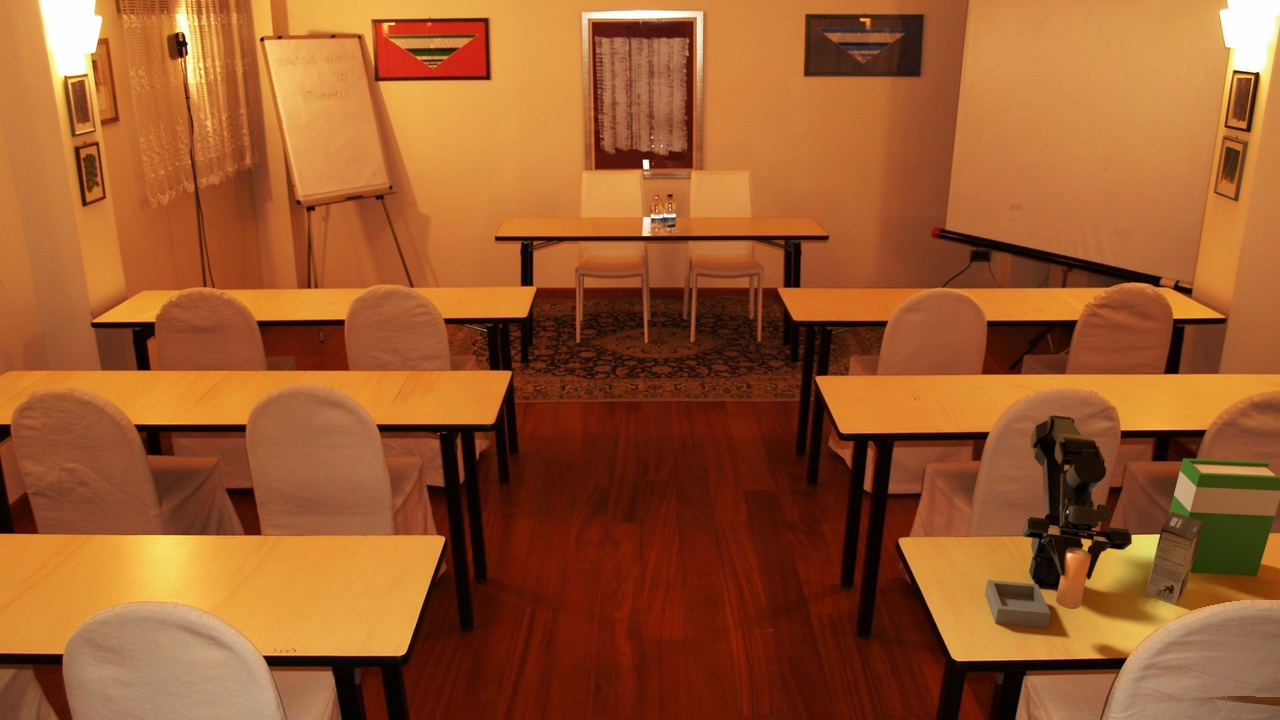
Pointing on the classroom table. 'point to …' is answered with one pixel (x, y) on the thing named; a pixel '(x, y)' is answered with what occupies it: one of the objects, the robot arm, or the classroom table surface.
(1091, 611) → the classroom table surface
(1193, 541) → the coffee box
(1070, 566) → the orange cylinder
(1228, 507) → the hardback book
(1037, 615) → the tray
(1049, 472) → the robot arm
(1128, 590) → the classroom table surface
